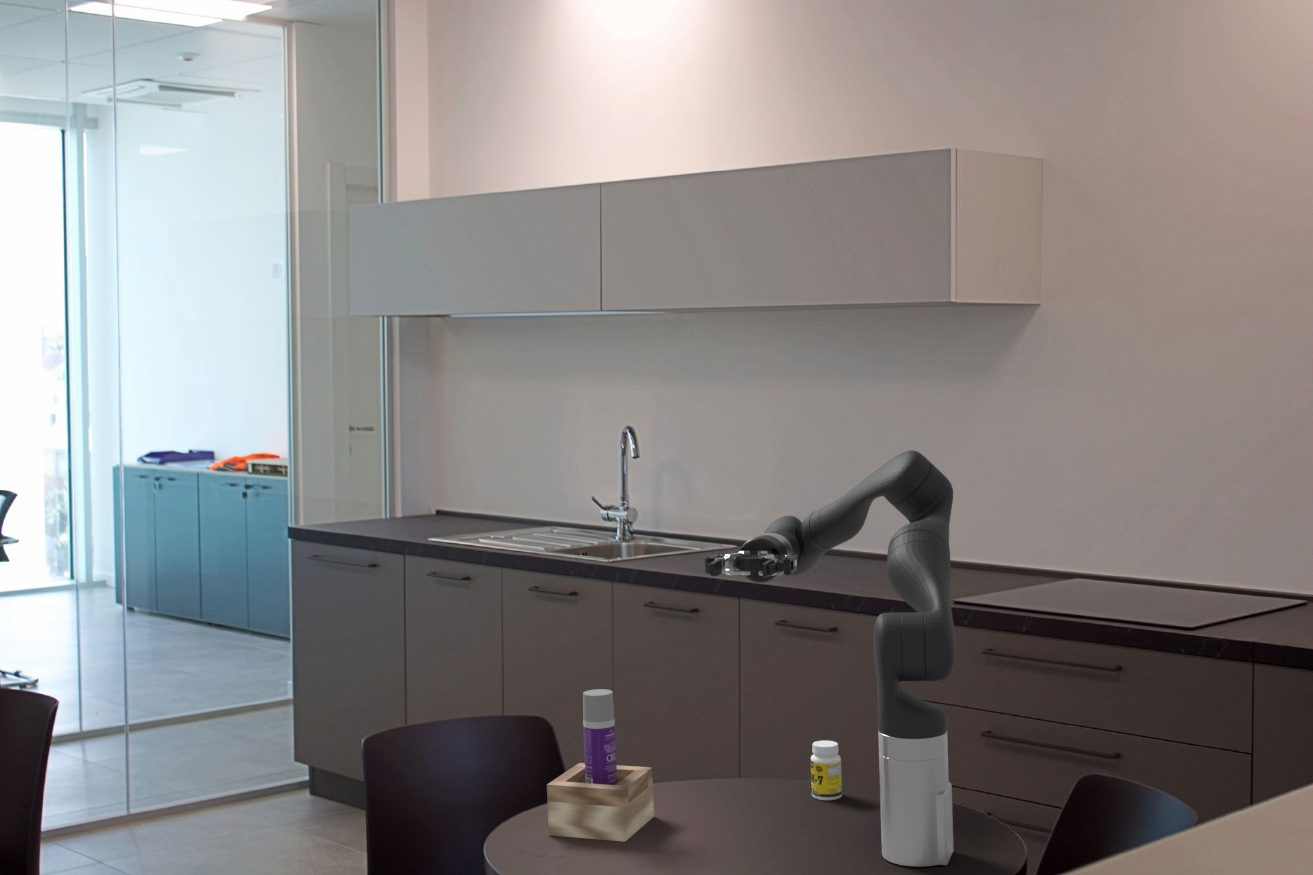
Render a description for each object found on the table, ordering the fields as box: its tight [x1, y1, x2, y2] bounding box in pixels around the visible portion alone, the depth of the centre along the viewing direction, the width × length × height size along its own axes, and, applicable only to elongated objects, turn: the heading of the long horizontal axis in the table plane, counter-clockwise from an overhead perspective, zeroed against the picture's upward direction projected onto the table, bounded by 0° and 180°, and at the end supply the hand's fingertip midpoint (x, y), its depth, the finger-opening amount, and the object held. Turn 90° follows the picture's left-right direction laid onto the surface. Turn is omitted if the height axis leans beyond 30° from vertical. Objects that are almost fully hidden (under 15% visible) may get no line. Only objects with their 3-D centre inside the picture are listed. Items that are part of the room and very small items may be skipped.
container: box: [582, 688, 617, 785], centre depth 206 cm, size 5×5×15 cm
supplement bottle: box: [810, 740, 843, 801], centre depth 217 cm, size 5×5×8 cm
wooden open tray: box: [546, 762, 655, 843], centre depth 206 cm, size 12×12×8 cm
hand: (738, 570), depth 216 cm, fingers open, 8 cm apart
